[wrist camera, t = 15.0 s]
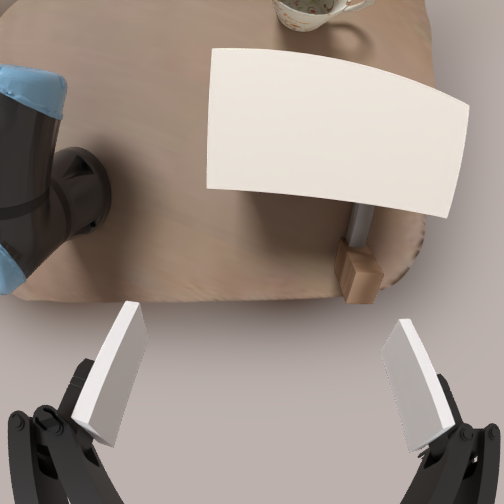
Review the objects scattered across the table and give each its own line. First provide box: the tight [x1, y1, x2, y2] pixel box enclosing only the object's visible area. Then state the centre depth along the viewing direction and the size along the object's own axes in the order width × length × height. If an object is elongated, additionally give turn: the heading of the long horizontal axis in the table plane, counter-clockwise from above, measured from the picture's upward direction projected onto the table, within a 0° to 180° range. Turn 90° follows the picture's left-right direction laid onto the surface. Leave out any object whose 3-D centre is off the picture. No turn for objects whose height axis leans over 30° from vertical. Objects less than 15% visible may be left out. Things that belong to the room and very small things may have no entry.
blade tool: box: [334, 202, 384, 304], centre depth 34 cm, size 4×15×9 cm, turn 177°
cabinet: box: [207, 48, 469, 218], centre depth 24 cm, size 20×10×17 cm, turn 86°
